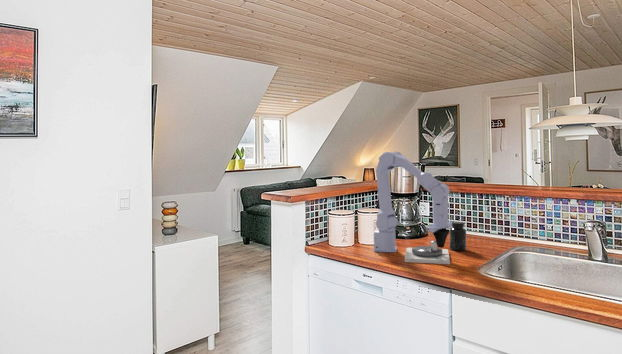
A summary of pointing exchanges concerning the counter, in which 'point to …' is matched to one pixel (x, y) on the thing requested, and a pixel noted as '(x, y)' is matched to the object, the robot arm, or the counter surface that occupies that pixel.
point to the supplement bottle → (457, 237)
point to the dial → (427, 250)
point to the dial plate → (420, 259)
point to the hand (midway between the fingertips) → (440, 247)
